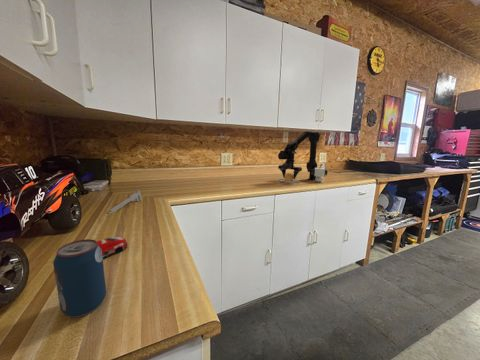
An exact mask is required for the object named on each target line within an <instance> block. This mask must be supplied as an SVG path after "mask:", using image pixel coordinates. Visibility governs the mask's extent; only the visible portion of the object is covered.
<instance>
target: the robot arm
mask: <svg viewBox="0 0 480 360" xmlns="http://www.w3.org/2000/svg"><path fill="white" fill-rule="evenodd" d="M320 136H321V135H320V133H319V132H318V131H316V132H314V131H313V132H312V131H308V130H307V131H306V130H305V131H303V132H302V133H301V134H300V135H299V136H298V137H297V138H296V139H294V140H293V141H290V142H288V143H287V144H286V146H285V147H284V149H283V150H279V153H278V155H277V158H278V159H279V160H281V161H282V160H285V161H284V163H283V164H280V165H278V166H277V168H278V169H279V171H281V173H282V177H283V179H285V174H287V170H293V174H294V176H293V180H296V178H297V176H298V174H299V173H300V172H302V171H303V168H302V167H301V166H295V155H297V154H298V152H296V151H297V149H298V147H299V145H300V144H301V143H302V142H304V141H305V140H306V139H307V138H308V141H309V143H310V147H309V160H308V162H306V165H305V166H306V169H307V172H308V173H309V178H307V180H310V181H315V178H316V177H317V176H313V174H312V169H314V168H318V163H317V160H316V158H317V145H318V142H319V141H320V138H321V137H320Z"/></svg>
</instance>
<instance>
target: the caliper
mask: <svg viewBox="0 0 480 360" xmlns="http://www.w3.org/2000/svg"><path fill="white" fill-rule="evenodd" d="M134 191H135V192H134V193H132V194H130V195H129V197H128V198H126V199H125V200H123V201H121V202H120V203H118V204H117V205H115V206H114V207H112V208H111V209H109V211H108V212H107V214H112V213H115V212H116V211H118V210H120V209H121V208H122V207H124V206H125V205H127V204H128V203H130V202H131V203H133V202H134V201H136V202H140V201H142V195H141V194H142V193H141V191H140V190H139V188H138V189H136V190H134Z"/></svg>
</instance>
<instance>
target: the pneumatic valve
mask: <svg viewBox="0 0 480 360" xmlns="http://www.w3.org/2000/svg"><path fill="white" fill-rule="evenodd" d="M312 174H313V176H316V178H315V180H314V181H316V183H317V182H319V183H321V182H322V181H323V178H322V177H326V176H327V175H328V169H327V168H326V167H324V168H323V167H321V166H319V167H317V168H314V169H312Z"/></svg>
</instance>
